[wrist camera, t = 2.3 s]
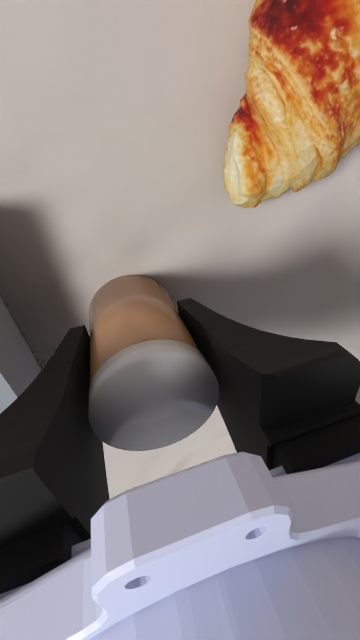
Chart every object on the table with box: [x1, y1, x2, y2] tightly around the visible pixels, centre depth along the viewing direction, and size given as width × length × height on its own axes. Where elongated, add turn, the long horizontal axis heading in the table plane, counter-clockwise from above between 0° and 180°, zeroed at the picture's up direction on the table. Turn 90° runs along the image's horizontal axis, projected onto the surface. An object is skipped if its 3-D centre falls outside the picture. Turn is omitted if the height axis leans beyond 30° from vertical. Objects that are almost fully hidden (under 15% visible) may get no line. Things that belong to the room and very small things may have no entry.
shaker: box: [89, 275, 219, 451], centre depth 11 cm, size 4×4×6 cm
